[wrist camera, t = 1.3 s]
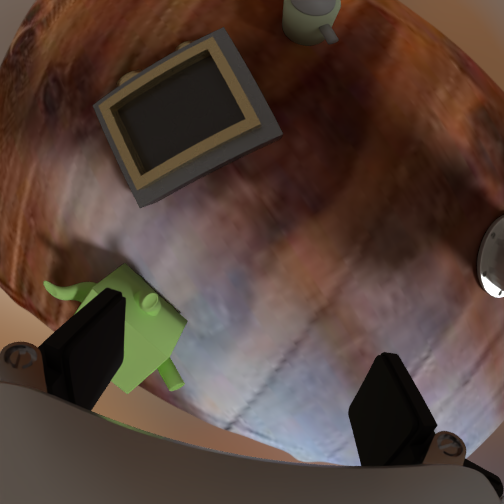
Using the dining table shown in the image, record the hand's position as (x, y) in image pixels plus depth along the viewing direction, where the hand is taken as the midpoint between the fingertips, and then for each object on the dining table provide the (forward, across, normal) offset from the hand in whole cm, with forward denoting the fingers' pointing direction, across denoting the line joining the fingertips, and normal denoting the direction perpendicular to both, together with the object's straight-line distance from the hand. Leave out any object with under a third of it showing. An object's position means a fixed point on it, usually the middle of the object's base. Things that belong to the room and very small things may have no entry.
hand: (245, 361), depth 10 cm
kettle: (+26, +13, +14) cm, 32 cm away
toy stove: (+26, +11, -10) cm, 29 cm away
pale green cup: (+26, +1, -24) cm, 35 cm away
